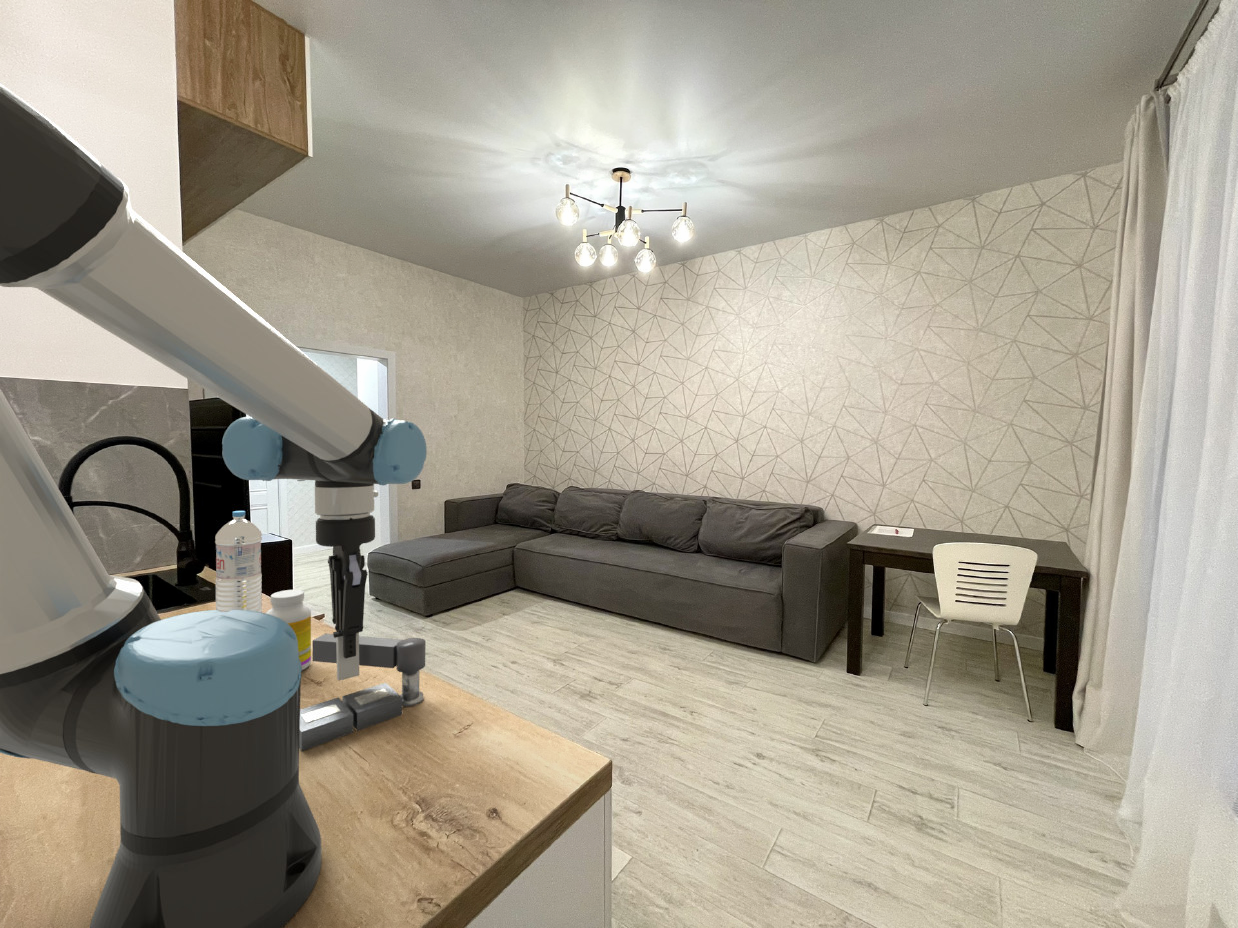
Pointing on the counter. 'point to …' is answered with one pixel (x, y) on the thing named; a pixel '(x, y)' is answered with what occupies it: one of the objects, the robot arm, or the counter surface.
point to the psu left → (324, 723)
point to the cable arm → (376, 652)
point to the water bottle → (238, 565)
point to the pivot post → (411, 689)
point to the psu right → (373, 705)
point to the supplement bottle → (295, 619)
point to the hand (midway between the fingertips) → (348, 676)
